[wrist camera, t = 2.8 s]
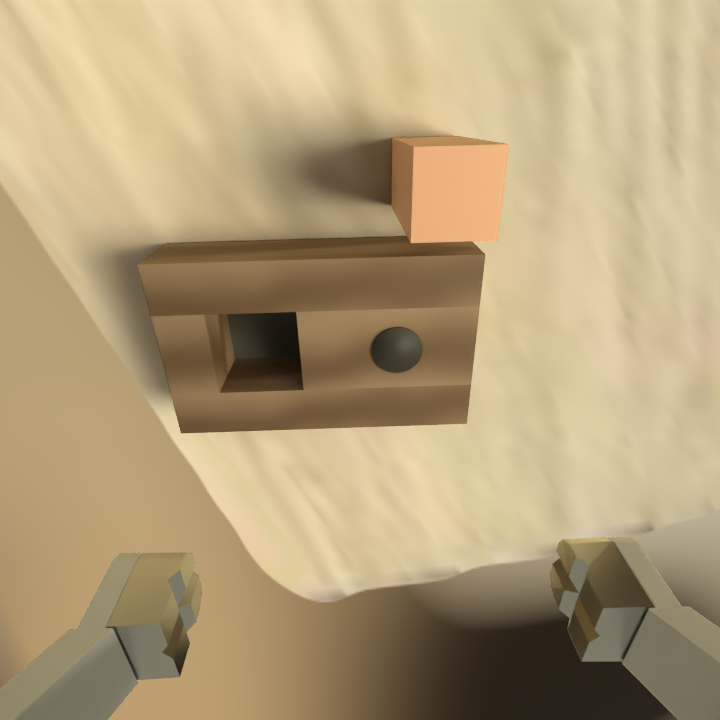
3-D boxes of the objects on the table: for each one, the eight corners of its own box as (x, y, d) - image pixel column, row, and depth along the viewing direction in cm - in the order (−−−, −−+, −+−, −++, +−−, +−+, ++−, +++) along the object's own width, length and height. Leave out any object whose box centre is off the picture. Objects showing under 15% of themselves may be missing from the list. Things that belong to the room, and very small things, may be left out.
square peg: (392, 137, 28) (413, 146, 19) (457, 136, 28) (509, 144, 19) (391, 205, 30) (410, 243, 21) (452, 204, 30) (497, 240, 21)
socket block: (167, 243, 30) (135, 265, 26) (465, 234, 31) (486, 255, 26) (201, 394, 36) (180, 435, 31) (452, 386, 36) (467, 425, 32)
